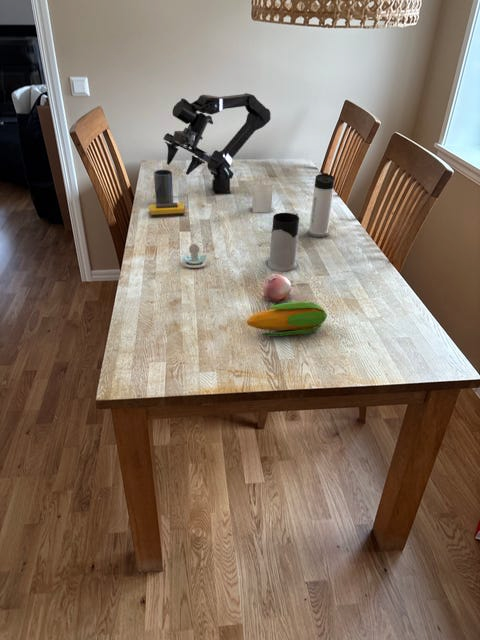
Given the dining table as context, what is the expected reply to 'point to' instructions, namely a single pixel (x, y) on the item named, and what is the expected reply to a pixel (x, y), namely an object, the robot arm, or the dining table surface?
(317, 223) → the travel mug
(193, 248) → the pacifier
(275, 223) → the glass holder
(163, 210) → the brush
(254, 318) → the corn
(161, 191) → the tumbler
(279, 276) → the onion
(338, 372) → the dining table surface
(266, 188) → the beige rectangular block
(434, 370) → the dining table surface
